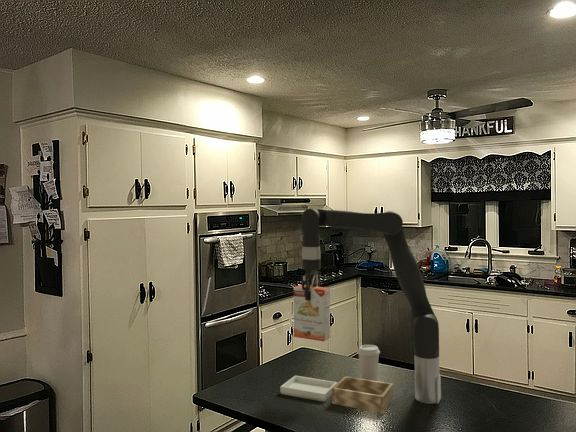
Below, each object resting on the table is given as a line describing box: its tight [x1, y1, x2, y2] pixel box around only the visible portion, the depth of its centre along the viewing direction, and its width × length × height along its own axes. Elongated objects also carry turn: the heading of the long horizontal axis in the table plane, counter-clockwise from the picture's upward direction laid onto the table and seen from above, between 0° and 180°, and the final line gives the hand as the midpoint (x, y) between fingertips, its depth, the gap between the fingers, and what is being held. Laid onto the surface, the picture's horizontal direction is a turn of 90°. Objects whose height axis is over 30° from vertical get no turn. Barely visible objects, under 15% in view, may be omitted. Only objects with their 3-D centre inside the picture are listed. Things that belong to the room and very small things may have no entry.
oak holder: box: [331, 376, 395, 414], centre depth 183 cm, size 20×14×6 cm
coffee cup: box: [357, 344, 381, 381], centre depth 203 cm, size 10×10×15 cm
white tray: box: [279, 375, 339, 403], centre depth 194 cm, size 20×14×3 cm
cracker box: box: [293, 284, 331, 342], centre depth 192 cm, size 14×6×21 cm, turn 62°
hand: (311, 298), depth 192 cm, fingers closed on cracker box, 6 cm apart
